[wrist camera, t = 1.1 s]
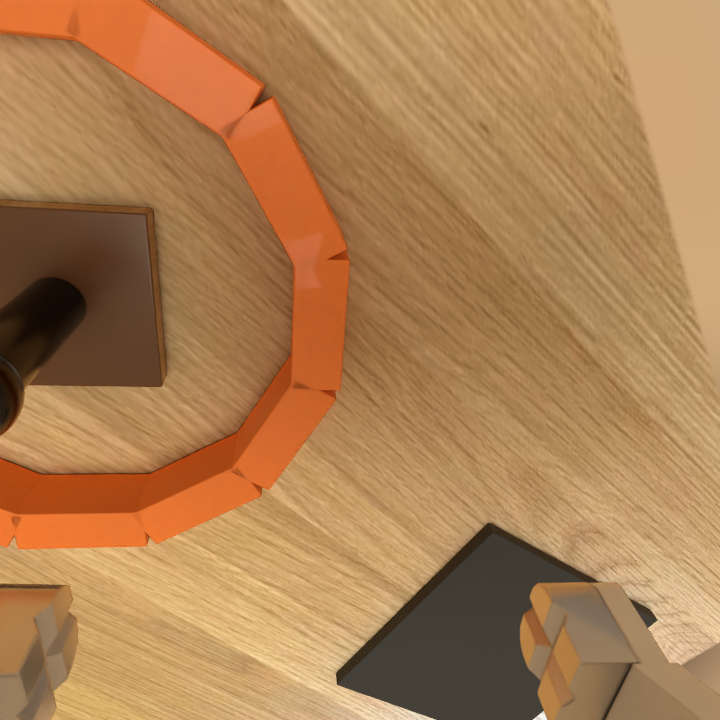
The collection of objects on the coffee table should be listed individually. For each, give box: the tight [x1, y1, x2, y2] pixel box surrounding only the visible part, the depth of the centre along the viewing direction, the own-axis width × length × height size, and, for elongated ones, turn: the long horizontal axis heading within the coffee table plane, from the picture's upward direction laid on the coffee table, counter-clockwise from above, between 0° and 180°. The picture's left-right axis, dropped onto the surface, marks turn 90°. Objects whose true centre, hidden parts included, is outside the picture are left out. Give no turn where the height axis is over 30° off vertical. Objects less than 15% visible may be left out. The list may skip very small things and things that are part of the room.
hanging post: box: [0, 200, 167, 436], centre depth 20 cm, size 8×8×10 cm
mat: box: [336, 523, 657, 720], centre depth 39 cm, size 16×16×1 cm
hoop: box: [0, 0, 350, 549], centre depth 23 cm, size 24×24×3 cm
